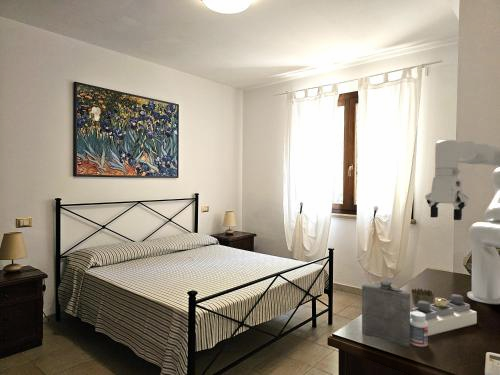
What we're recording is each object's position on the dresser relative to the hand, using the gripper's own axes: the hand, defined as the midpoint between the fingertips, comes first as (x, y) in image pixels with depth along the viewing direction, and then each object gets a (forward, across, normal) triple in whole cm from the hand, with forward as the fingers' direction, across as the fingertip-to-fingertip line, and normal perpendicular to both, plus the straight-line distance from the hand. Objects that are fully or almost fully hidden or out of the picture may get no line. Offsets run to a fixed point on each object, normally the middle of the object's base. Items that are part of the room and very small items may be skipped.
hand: (445, 218), depth 125 cm
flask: (+36, -9, +37) cm, 52 cm away
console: (+35, -8, +12) cm, 38 cm away
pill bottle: (+36, -15, +30) cm, 49 cm away
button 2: (+29, -8, +4) cm, 30 cm away
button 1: (+29, -9, +20) cm, 36 cm away
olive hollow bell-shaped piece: (+35, +1, +10) cm, 36 cm away
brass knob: (+29, -8, +12) cm, 32 cm away
